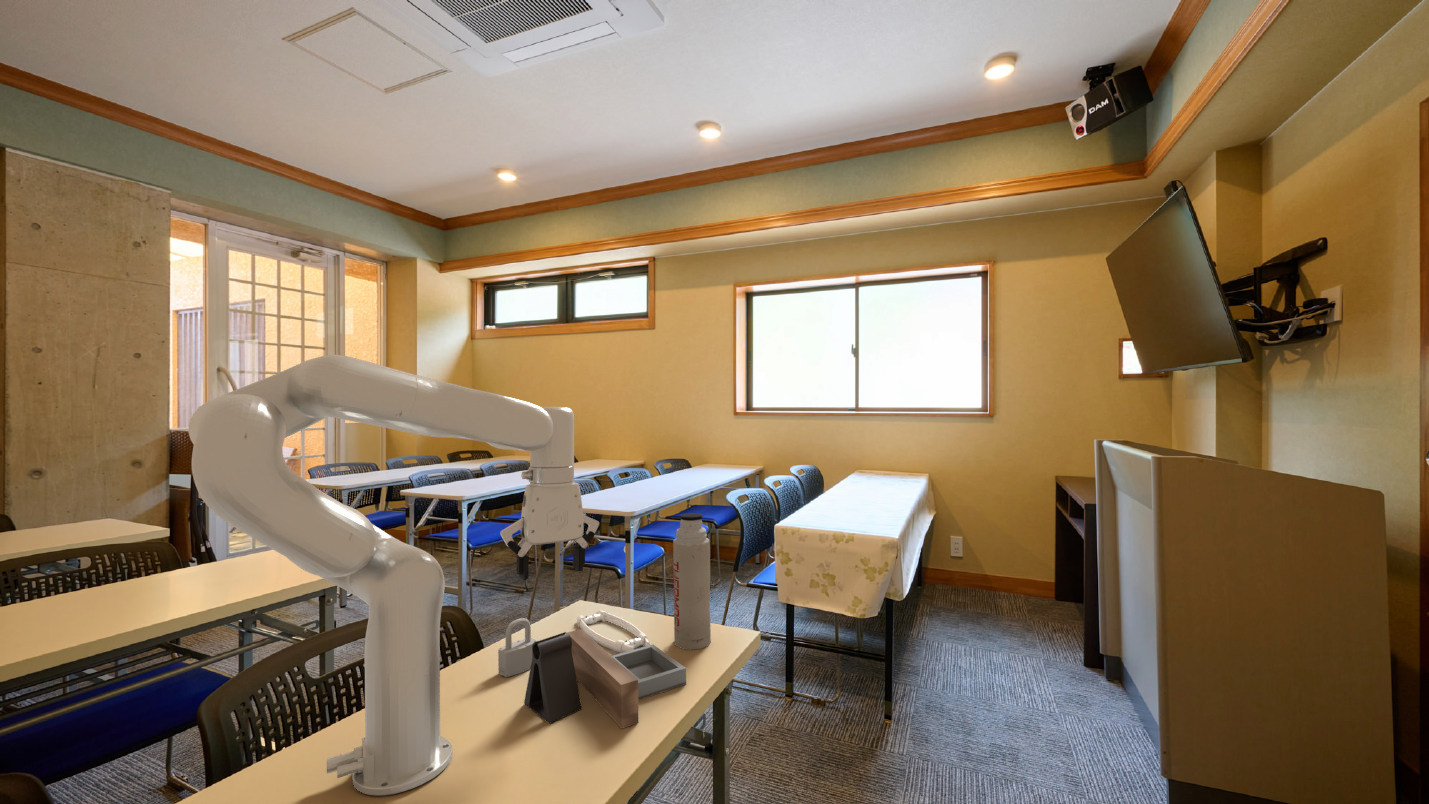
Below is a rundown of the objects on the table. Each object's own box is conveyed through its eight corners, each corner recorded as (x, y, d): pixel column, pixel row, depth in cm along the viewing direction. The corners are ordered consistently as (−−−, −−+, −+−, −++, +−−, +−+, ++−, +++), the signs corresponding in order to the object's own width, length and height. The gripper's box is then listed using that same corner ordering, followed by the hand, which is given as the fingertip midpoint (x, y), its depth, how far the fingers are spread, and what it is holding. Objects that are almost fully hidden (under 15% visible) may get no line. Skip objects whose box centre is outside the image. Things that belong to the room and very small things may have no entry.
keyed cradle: (637, 700, 100) (637, 683, 100) (607, 672, 111) (607, 656, 111) (686, 684, 105) (685, 668, 105) (653, 659, 116) (653, 644, 116)
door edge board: (621, 728, 91) (621, 684, 91) (566, 667, 113) (566, 632, 113) (639, 722, 93) (639, 679, 93) (582, 663, 114) (581, 628, 115)
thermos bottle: (675, 650, 120) (673, 518, 120) (673, 635, 128) (672, 511, 128) (712, 648, 121) (710, 517, 121) (708, 633, 129) (707, 510, 129)
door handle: (620, 662, 116) (567, 626, 135) (660, 649, 122) (604, 616, 142) (620, 649, 116) (567, 614, 135) (660, 636, 122) (604, 605, 142)
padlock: (529, 660, 116) (528, 611, 116) (540, 666, 114) (539, 616, 114) (496, 673, 111) (496, 622, 111) (507, 679, 108) (506, 627, 108)
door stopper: (524, 704, 99) (523, 635, 99) (555, 691, 103) (554, 625, 103) (550, 724, 93) (549, 650, 93) (581, 710, 97) (581, 639, 97)
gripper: (507, 481, 92) (506, 587, 92) (606, 475, 102) (605, 571, 102) (496, 477, 99) (495, 576, 98) (590, 471, 108) (590, 561, 108)
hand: (551, 573), depth 100 cm, fingers open, 9 cm apart
